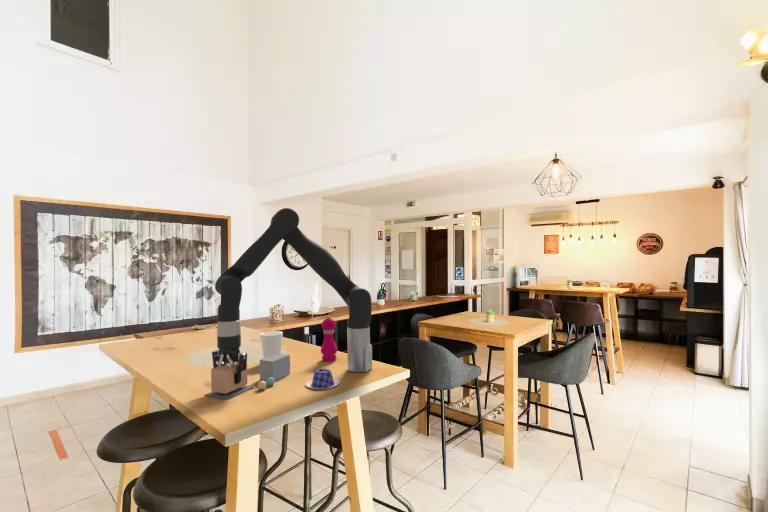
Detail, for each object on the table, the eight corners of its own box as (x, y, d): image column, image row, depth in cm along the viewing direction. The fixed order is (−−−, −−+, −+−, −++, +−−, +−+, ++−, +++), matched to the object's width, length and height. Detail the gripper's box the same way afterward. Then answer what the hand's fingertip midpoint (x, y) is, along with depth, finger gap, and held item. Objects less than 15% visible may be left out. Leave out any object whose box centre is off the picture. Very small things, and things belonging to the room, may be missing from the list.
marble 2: (276, 384, 137) (276, 376, 137) (271, 387, 134) (271, 378, 134) (270, 383, 138) (269, 375, 138) (264, 386, 135) (264, 378, 135)
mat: (253, 387, 133) (253, 386, 133) (227, 399, 122) (227, 398, 122) (231, 384, 137) (231, 383, 137) (204, 395, 126) (204, 394, 126)
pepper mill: (340, 359, 170) (340, 314, 170) (330, 363, 164) (329, 316, 164) (328, 357, 174) (327, 313, 174) (317, 360, 168) (317, 315, 168)
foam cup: (276, 366, 160) (276, 335, 160) (256, 365, 161) (256, 335, 161) (286, 360, 169) (286, 331, 169) (267, 359, 171) (267, 330, 171)
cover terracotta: (247, 384, 133) (247, 362, 133) (225, 393, 124) (224, 370, 124) (234, 382, 136) (233, 361, 136) (211, 391, 127) (211, 368, 127)
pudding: (346, 383, 138) (346, 369, 138) (323, 393, 128) (322, 378, 128) (322, 377, 145) (322, 364, 145) (298, 387, 135) (298, 372, 135)
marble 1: (268, 388, 132) (268, 380, 132) (262, 391, 130) (262, 382, 130) (261, 387, 134) (261, 379, 134) (255, 390, 131) (255, 381, 131)
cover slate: (290, 373, 149) (289, 354, 149) (273, 381, 140) (273, 361, 140) (277, 372, 152) (277, 353, 152) (260, 379, 142) (259, 359, 142)
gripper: (253, 332, 131) (253, 381, 131) (221, 330, 136) (222, 376, 136) (236, 337, 124) (237, 388, 124) (204, 334, 129) (205, 383, 129)
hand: (229, 382), depth 130 cm, fingers closed on cover terracotta, 6 cm apart
